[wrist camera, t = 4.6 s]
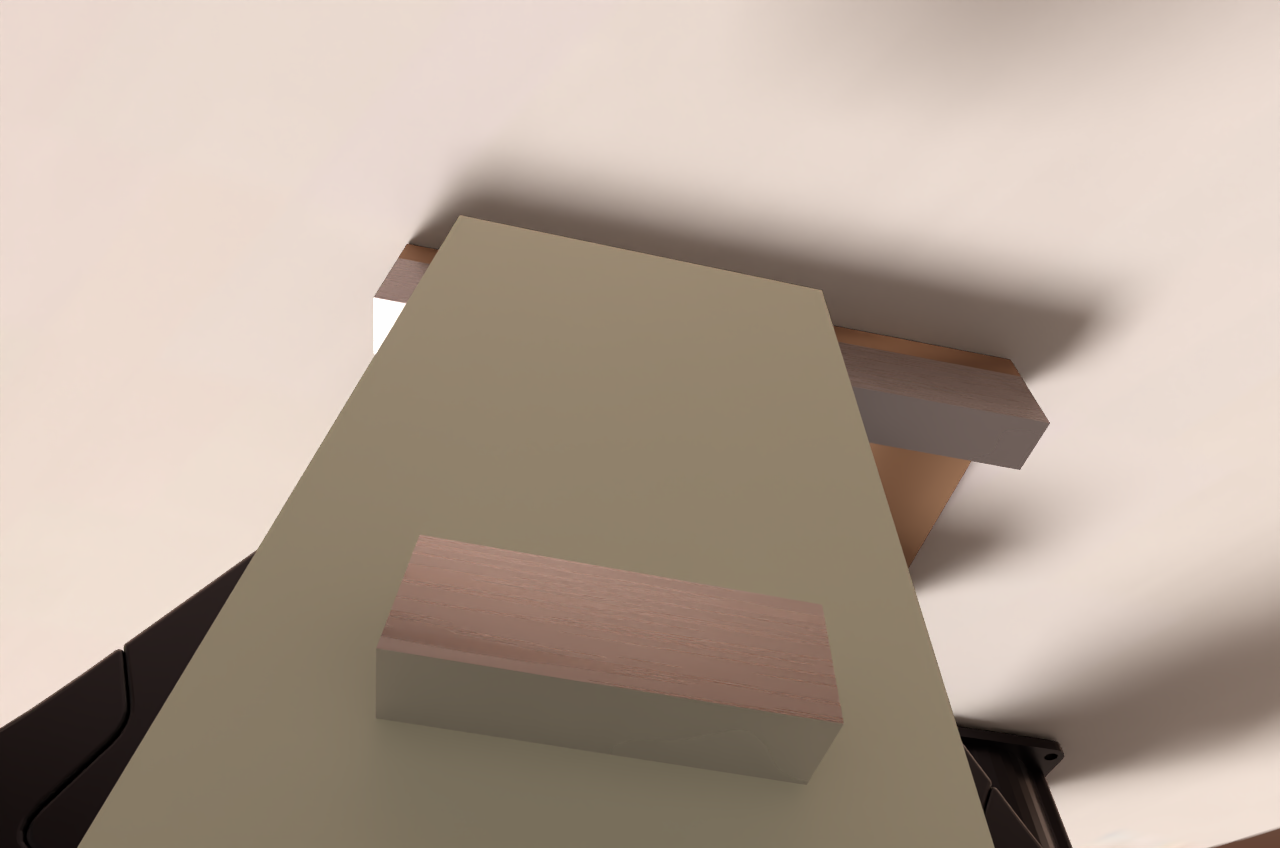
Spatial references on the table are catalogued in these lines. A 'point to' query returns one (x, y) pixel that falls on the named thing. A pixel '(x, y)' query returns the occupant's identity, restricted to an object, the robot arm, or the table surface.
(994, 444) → the cleat rack
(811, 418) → the cabinet block
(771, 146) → the table surface
